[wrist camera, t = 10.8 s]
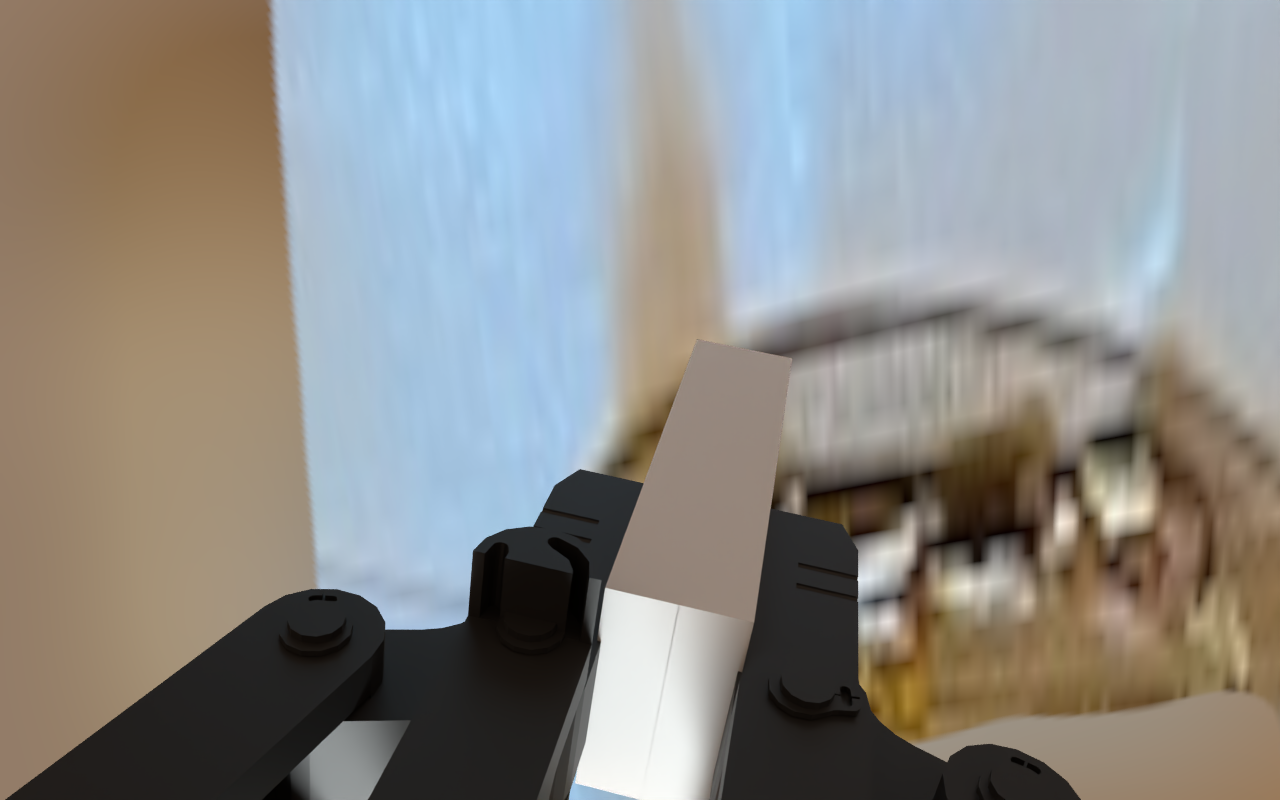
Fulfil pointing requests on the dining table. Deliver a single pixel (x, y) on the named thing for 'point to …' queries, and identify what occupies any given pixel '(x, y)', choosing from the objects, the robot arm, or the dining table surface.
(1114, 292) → the dining table surface
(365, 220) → the dining table surface
